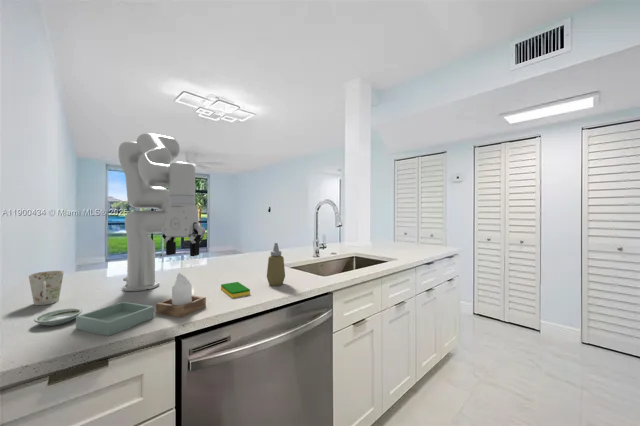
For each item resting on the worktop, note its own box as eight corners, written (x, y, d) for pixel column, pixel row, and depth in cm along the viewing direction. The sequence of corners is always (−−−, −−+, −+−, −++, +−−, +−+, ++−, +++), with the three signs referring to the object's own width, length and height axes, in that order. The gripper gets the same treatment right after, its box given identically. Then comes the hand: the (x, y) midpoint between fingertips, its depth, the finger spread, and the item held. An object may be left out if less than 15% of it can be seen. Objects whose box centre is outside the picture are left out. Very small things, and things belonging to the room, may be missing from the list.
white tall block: (196, 271, 87) (181, 275, 82) (195, 307, 88) (181, 314, 82) (182, 269, 90) (167, 273, 84) (182, 305, 90) (167, 311, 84)
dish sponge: (231, 299, 98) (231, 292, 98) (220, 290, 109) (220, 284, 109) (250, 295, 102) (250, 289, 102) (238, 287, 113) (238, 281, 113)
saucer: (25, 332, 70) (25, 323, 70) (45, 319, 78) (45, 310, 78) (73, 326, 73) (73, 317, 73) (87, 314, 82) (87, 306, 82)
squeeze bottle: (283, 287, 112) (284, 244, 112) (264, 286, 112) (264, 244, 112) (286, 281, 120) (286, 242, 120) (268, 281, 121) (268, 241, 120)
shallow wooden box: (156, 313, 83) (156, 303, 83) (182, 302, 92) (182, 294, 92) (181, 317, 80) (181, 307, 80) (205, 306, 89) (205, 297, 89)
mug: (63, 296, 98) (63, 269, 98) (63, 305, 89) (63, 275, 89) (29, 302, 92) (29, 273, 92) (26, 312, 83) (26, 279, 83)
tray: (75, 328, 72) (75, 316, 72) (123, 312, 84) (123, 301, 84) (108, 335, 68) (108, 322, 68) (153, 317, 79) (153, 306, 79)
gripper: (151, 201, 85) (151, 255, 85) (194, 200, 79) (195, 258, 79) (171, 202, 92) (171, 252, 92) (212, 201, 86) (213, 254, 86)
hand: (182, 255), depth 86 cm, fingers open, 9 cm apart
